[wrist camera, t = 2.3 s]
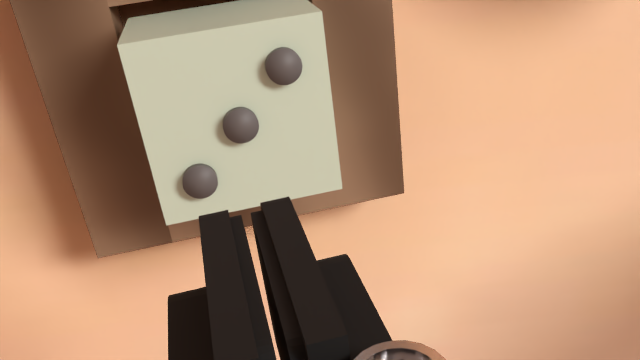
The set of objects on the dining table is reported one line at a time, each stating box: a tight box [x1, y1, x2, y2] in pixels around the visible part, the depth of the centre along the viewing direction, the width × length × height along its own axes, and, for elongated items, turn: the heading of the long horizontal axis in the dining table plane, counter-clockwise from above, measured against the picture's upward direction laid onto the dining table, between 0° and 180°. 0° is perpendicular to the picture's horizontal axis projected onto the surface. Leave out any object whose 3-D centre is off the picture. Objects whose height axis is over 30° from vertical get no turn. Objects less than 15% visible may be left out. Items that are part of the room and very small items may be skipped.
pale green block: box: [117, 0, 342, 226], centre depth 20 cm, size 6×6×5 cm
